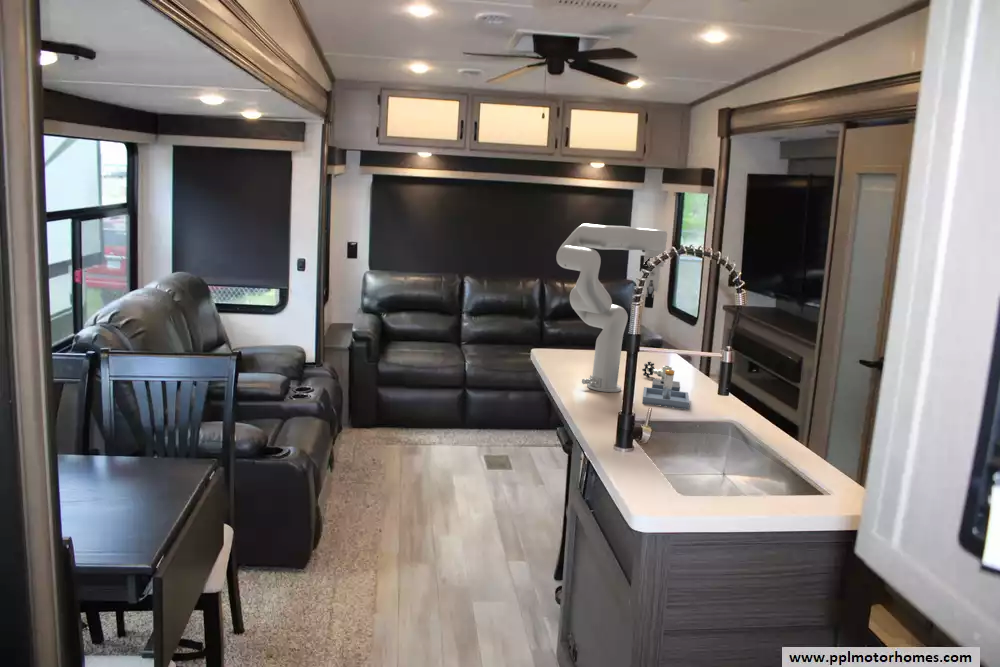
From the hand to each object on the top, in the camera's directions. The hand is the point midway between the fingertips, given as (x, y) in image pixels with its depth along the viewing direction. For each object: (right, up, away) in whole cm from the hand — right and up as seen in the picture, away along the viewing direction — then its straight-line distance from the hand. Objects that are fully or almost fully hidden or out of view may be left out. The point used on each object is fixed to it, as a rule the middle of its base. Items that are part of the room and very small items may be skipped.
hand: (648, 306), depth 323 cm
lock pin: (+2, -34, -22) cm, 41 cm away
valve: (+6, -30, +12) cm, 33 cm away
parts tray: (+2, -35, -22) cm, 41 cm away
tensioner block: (+5, -33, -8) cm, 34 cm away
